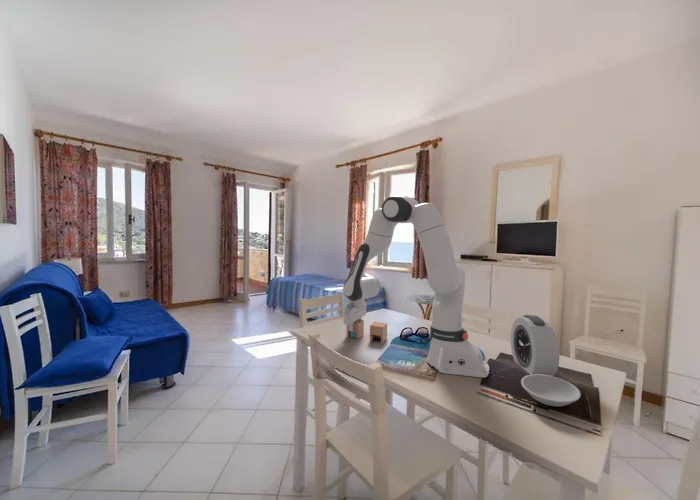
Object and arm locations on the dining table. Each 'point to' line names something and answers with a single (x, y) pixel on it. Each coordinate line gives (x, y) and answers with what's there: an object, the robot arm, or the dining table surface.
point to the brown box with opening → (378, 331)
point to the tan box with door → (357, 328)
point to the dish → (550, 389)
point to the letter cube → (353, 334)
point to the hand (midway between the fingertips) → (355, 328)
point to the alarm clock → (535, 345)
